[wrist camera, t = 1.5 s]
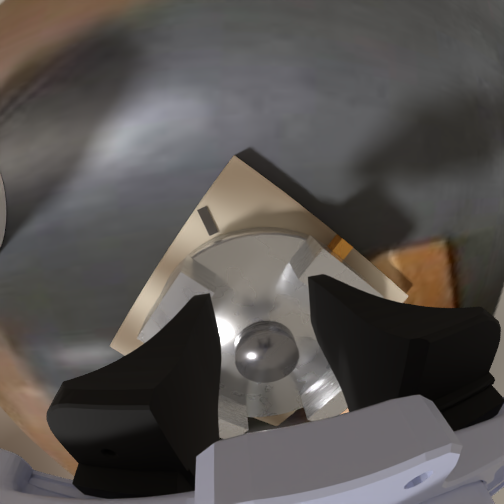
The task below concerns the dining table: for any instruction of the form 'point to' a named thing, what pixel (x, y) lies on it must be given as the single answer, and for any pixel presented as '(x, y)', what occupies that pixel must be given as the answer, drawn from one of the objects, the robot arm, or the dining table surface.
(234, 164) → the nut base
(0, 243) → the jar
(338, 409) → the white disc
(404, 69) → the dining table surface
